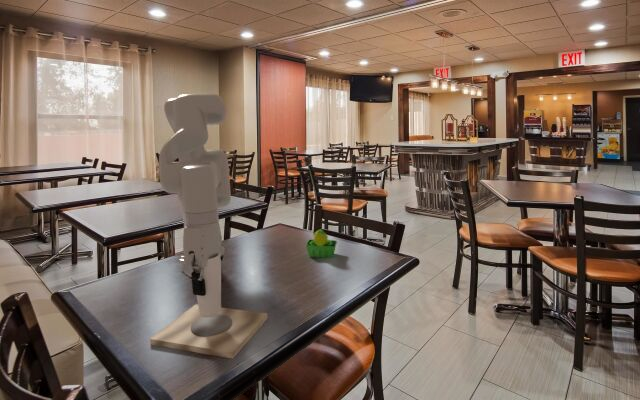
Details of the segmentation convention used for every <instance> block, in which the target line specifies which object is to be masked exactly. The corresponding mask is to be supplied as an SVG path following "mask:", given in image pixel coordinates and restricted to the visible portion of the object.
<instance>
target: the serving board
mask: <svg viewBox="0 0 640 400" xmlns="http://www.w3.org/2000/svg"><path fill="white" fill-rule="evenodd" d="M267 320H268V313H266V312H260V311H259V312H258V311H252V310H244V309H243V310H242V309H235V308H227V307H221V312H220V313H219V314H218V315H216V316H213V317H203V316H201V315H200V314H199V307H198V303H196V304H194V305H193V306H191V307H190V308H188V309H187V310H186V311H185V312H183V313H182V314H181V315H179V316H178V317H176V318H175V319H174V320H173V321H171V322H170V323H169V324H168V325H166V326H165V327H163V328H162V329H161V330H160V331H158V332H156V333H155V334H154V335H153V336H152V337H150V338H149V342H150V345H152V346H157V347H161V348H162V347H163V348H169V349H173V350H174V349H175V350H180V351H184V352H185V351H187V352H192V353H197V354H204V355H208V356H209V355H210V356H215V357H222V358H227V359H235V358H236V356H238V354H239V353H240V351H242V349H243V348H244V346H246V344H247V343H248V342H249V341H250V340H251V339H252V338H253V336H254V335H256V333H257V332H258V330H260V328H261V327H262V326H263V324H264V323H265V322H266V321H267Z"/></svg>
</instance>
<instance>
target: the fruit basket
mask: <svg viewBox="0 0 640 400" xmlns="http://www.w3.org/2000/svg"><path fill="white" fill-rule="evenodd" d="M337 243H338V241H337V240H332V239H329V238H328V235H327V233H326V232H325V231H324V230H323V229H318V230H317V231H315V233H314V236H313V239H309V240H308V241H307V242H306V243H305V247H306V250H307V253H308V256H309V257H310V258H329V259H332V258H333V257H334V254H335V251H336V247H337Z"/></svg>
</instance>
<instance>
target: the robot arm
mask: <svg viewBox="0 0 640 400" xmlns="http://www.w3.org/2000/svg"><path fill="white" fill-rule="evenodd" d="M163 107H164V114H165V117H166V119H167V122H168V123H169V126H170V128H171V129H172V131H173V133H174V134H173V135H172V136H170V137H169V138H168V140H167V141H166V142H165V143H164V144H163V145H162V147H161V149H160V152H159V154H158V155H159V156H158V166H159V167H158V168H159V171H158V172H159V174H158V175H159V182H160V185H161V188H162V190H163V191H164V192H166V193H167V194H177V197H178V198H177V199H178V202H179V207H180V209H181V214H182V220H183V234H182V235H183V236H182V240H183V241H182V248H183V249H182V252H183V255H181V256H180V258H179V263H180V264H184V265H183V268H182V272H183V273H184V274H185V275H186V277H188V278H189V280H190V281H191V286H192V287H191V288H192V289H191V290H192V294H193V295H194V296H196V295H200V296H204V295H206V289H205V279H203V273H204V267H206V266H207V260H208V259H211V258H214V257H216V256H218V253H219V254H220V261H221V284H222V283H223V272H222V271H223V269H222V267H223V259H224V254H225V251H226V250H225V249H226V247H225V246H224V245H223V239H222V238H223V237H222V231H221V227H220V226H221V225H220V220H219V211H218V210H219V209H218V208H225V207H228V205H230V203H231V196H232V195H231V192H232V191H231V183H230V182H231V180H230V169H229V168H230V167H229V161H228V157H227V154H226V152H225V151H224V150H221V149H206V148H205V145H206V144H207V143H208V140H209V130H208V126H210V125H211V126H212V125H213V126H215V125H221V124H224V122H225V120H226V117H227V108H226V103H225V101H224V98H223V97H222V96H220V95H219V94H216V93H185V94H180V95H179V96H177V97H174V98H169V99H168V100H166V101H165V103H164V106H163ZM177 159H178V161H177V162H175V161H176V160H177ZM194 263H197V264H198V265H199V266H194ZM195 269H199V274H198V273H196V272H195Z"/></svg>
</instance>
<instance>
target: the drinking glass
mask: <svg viewBox="0 0 640 400" xmlns="http://www.w3.org/2000/svg"><path fill="white" fill-rule="evenodd" d="M194 266H199V265H198V264H197V263H194ZM221 269H222V267H221V261H220V254H219V253H218V256H216V257H214V258H211V259H208V260H207V266H206V267H204V273H203V279H205V289H206V295H204V296H200V295H195V296H196V302H197V304H198V307H199V314H200V315H201V316H203V317H213V316H216V315H218V314H219V313H220V312H221V308H222V283H221ZM195 272H196V273H198V274H199V269H195Z"/></svg>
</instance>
